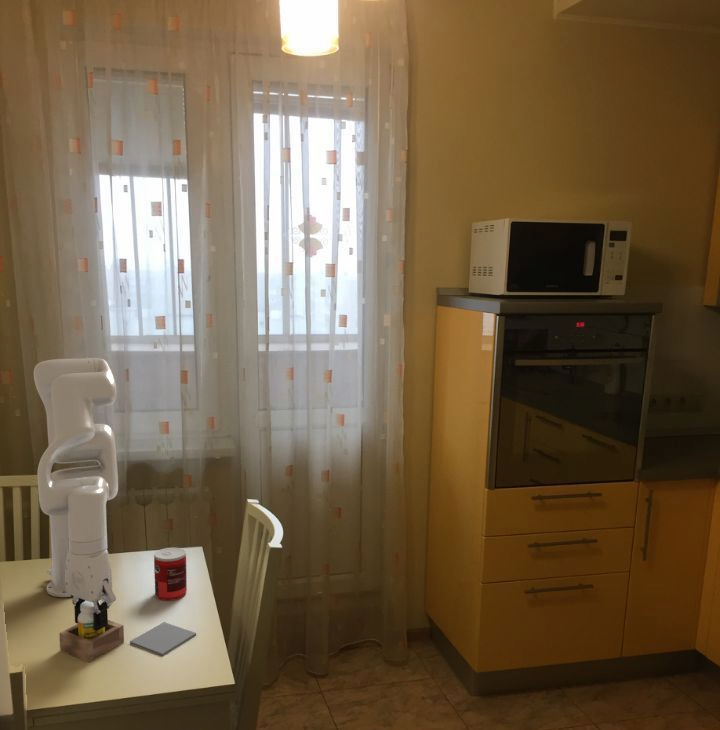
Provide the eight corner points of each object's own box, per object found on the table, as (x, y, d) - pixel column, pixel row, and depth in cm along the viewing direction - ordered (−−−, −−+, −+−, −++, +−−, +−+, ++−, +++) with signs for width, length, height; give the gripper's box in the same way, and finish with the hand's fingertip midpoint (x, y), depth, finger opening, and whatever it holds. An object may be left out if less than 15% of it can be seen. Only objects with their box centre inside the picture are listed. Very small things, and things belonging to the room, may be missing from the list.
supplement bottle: (102, 636, 148) (100, 595, 146) (108, 647, 143) (106, 605, 142) (76, 643, 145) (74, 601, 144) (81, 654, 140) (79, 611, 139)
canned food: (163, 586, 173) (162, 546, 172) (191, 588, 172) (191, 548, 171) (149, 599, 166) (148, 557, 165) (179, 602, 165) (178, 559, 163)
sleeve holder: (60, 650, 142) (59, 633, 141) (96, 631, 150) (95, 615, 149) (88, 662, 137) (87, 644, 137) (124, 642, 145) (123, 625, 145)
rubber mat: (129, 643, 145) (129, 641, 145) (164, 624, 154) (164, 621, 154) (162, 655, 140) (162, 653, 140) (196, 635, 149) (196, 633, 149)
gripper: (47, 541, 142) (50, 621, 144) (100, 558, 134) (103, 643, 136) (77, 531, 149) (80, 607, 151) (130, 546, 140) (132, 627, 142)
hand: (91, 623), depth 143 cm, fingers closed on supplement bottle, 5 cm apart
